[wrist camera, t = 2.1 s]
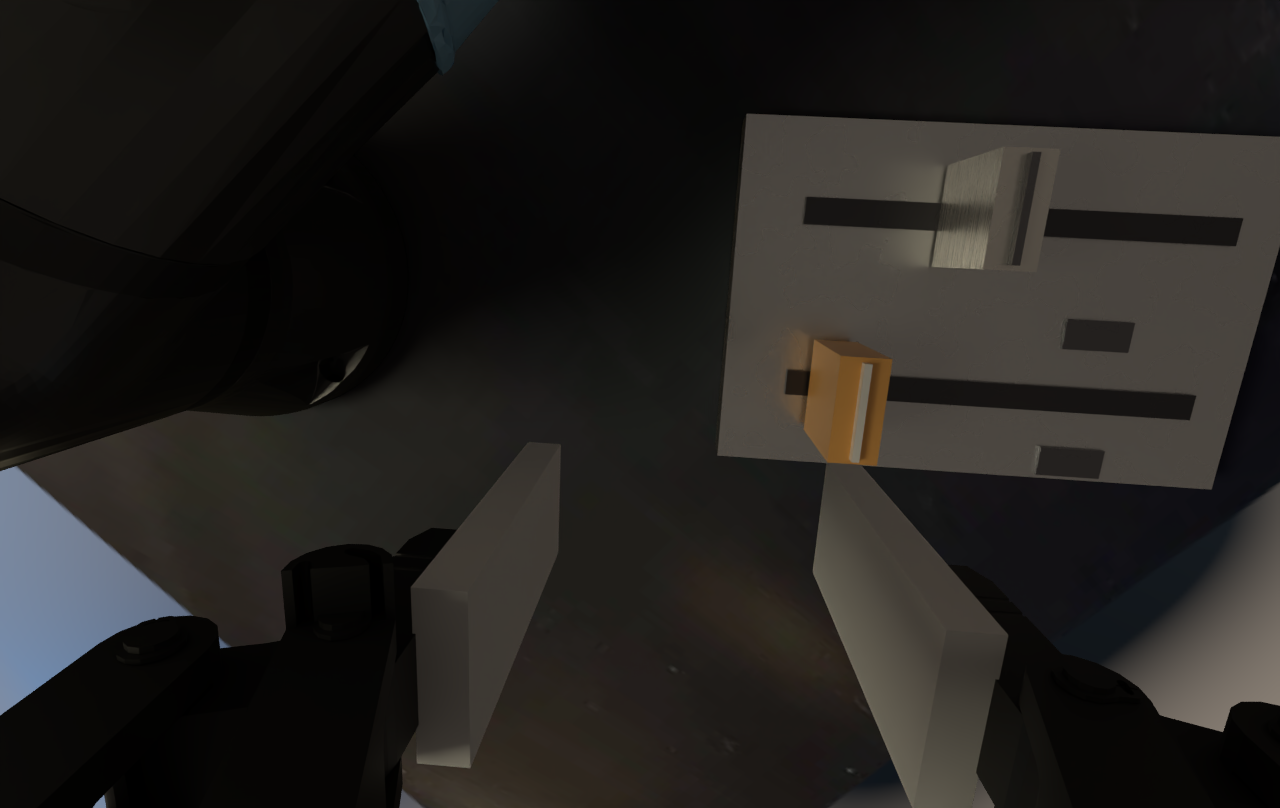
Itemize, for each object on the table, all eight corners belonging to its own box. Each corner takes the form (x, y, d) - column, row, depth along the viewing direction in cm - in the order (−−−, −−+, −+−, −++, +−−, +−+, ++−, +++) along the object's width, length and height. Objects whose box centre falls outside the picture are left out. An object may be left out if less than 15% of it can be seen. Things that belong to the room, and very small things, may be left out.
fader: (803, 429, 31) (829, 465, 25) (814, 339, 30) (843, 357, 24) (845, 432, 30) (879, 469, 25) (857, 342, 29) (896, 360, 24)
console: (715, 443, 34) (725, 496, 26) (742, 122, 30) (762, 79, 23) (1179, 475, 33) (1326, 540, 25) (1267, 146, 29) (1469, 108, 21)
